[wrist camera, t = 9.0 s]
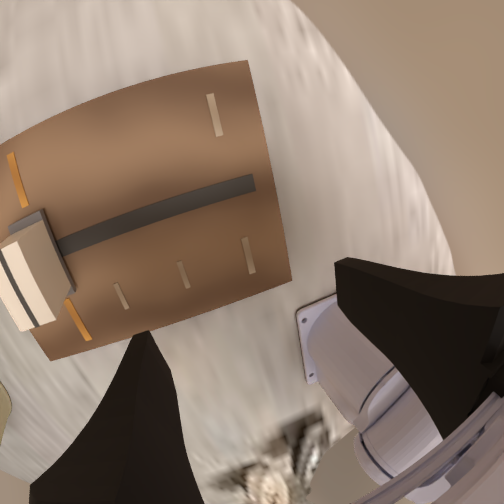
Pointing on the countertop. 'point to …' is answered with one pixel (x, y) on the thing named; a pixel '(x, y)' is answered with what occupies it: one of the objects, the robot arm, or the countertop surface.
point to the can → (4, 409)
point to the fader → (33, 273)
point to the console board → (150, 204)
